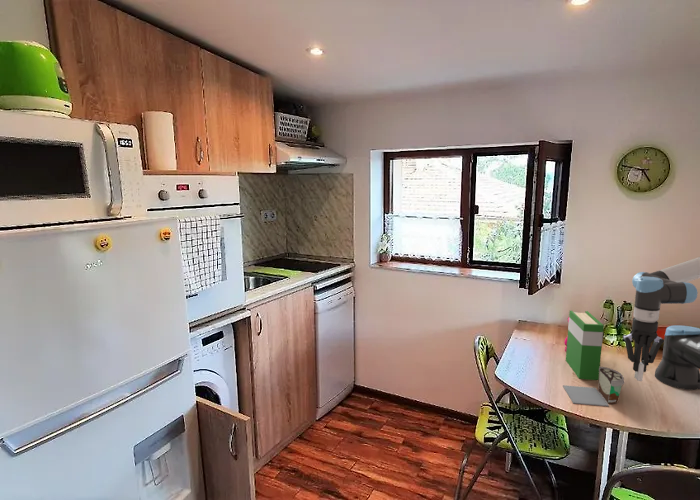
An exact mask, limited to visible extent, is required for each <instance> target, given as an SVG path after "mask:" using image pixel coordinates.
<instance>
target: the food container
mask: <svg viewBox="0 0 700 500" xmlns="http://www.w3.org/2000/svg"><path fill="white" fill-rule="evenodd" d="M624 384H625V378H624V376H623V374H622V373H621V372H619V371H617V370H616V369H613V368H610V367H606V366H600V368H599V380H598V388H597V390H598V392H599V393H600V394H601V396H602V397H603V398H604V400H605V401H606V402H607V404H608V405H615V404H618V403H619V399H620V394H621V389H622V386H623V385H624Z"/></svg>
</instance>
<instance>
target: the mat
mask: <svg viewBox="0 0 700 500" xmlns="http://www.w3.org/2000/svg"><path fill="white" fill-rule="evenodd" d="M562 387H563V389H564V391H565V393H566V394H567V395H568V397H569V399H570V400H571V403H572V404H576V405H586V406H597V407H598V406H600V407H609V406H610V404H608V403H607V402H606V401H605V399H604V398H603V397H602V395H601V394H600V393H599V391H598V388H596V387H589V386H579V385H578V386H577V385H576V386H575V385H565V384H564V385H562Z"/></svg>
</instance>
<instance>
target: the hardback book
mask: <svg viewBox="0 0 700 500" xmlns="http://www.w3.org/2000/svg"><path fill="white" fill-rule="evenodd" d="M574 312H575V311H573V310H569V312H568V313H569V314H568V317H569V323H568V324H567V325H568V328H567V329H568V330H567V336H568V337H567V336H566V337H567V349H566V352H565V362H566V363H567V364H568V366H569V367H570V368H571V370H572V371H573V373H574V374H575V375H576V377H577V378H578V379H579V380H587V381H588V380H589V381H590V380H592V381H599V368H600V367H601V359H602V357H601V356H602V350H603V349H602V347H603V337H604V329H605V327H604V326H605V325H604V324H603V323H602V322H601V321H600V320H599V319H597V318H596V317H595V316H594V315H593V314H591V313H590V312H589V311H588V310H585V311H584V312H577V313H574Z"/></svg>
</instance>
